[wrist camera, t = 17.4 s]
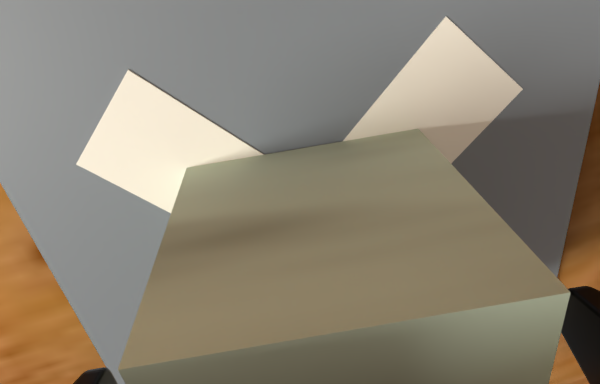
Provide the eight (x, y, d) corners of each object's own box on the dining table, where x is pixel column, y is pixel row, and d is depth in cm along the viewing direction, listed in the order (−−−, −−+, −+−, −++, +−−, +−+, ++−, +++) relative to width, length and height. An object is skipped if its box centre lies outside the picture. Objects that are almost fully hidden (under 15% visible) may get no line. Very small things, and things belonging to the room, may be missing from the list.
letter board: (527, 375, 16) (534, 385, 15) (156, 439, 15) (153, 451, 15) (640, -187, 8) (661, -194, 7) (-122, -61, 8) (-142, -61, 7)
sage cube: (418, 299, 13) (517, 510, 8) (237, 330, 12) (224, 561, 8) (418, 128, 10) (571, 292, 5) (186, 168, 10) (117, 369, 5)
